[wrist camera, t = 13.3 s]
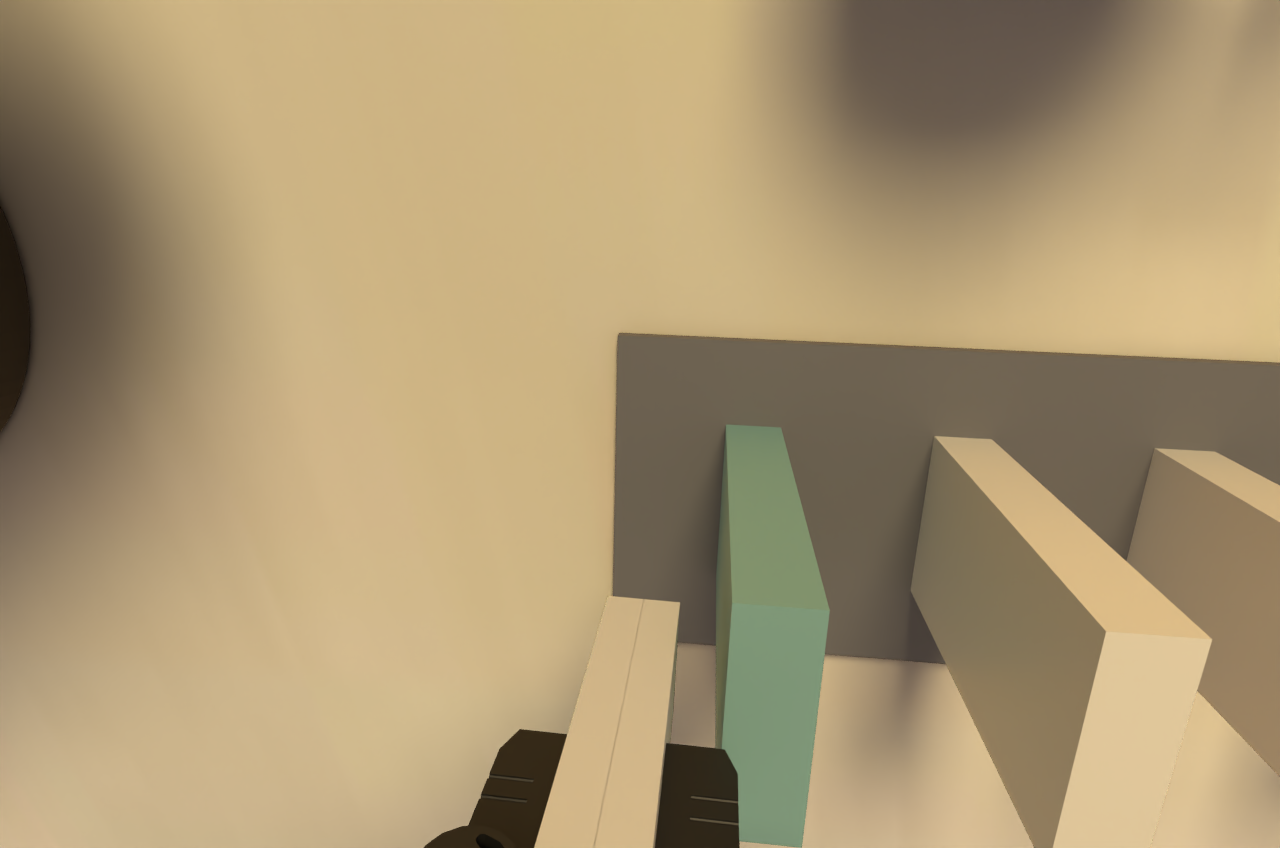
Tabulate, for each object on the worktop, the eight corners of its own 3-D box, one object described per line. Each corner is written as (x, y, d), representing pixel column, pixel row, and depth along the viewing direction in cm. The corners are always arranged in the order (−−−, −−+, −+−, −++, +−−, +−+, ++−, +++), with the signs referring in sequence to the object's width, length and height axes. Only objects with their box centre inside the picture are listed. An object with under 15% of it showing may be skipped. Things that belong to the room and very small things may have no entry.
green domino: (716, 576, 23) (714, 839, 14) (726, 424, 22) (732, 603, 12) (767, 579, 23) (801, 847, 14) (781, 427, 22) (829, 610, 12)
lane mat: (613, 630, 25) (612, 637, 24) (619, 332, 22) (618, 335, 21) (1761, 721, 22) (1780, 731, 22) (1950, 392, 19) (1976, 397, 19)
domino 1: (910, 590, 23) (1046, 872, 13) (934, 435, 21) (1105, 630, 12) (964, 594, 23) (1140, 883, 13) (992, 439, 21) (1211, 639, 12)
